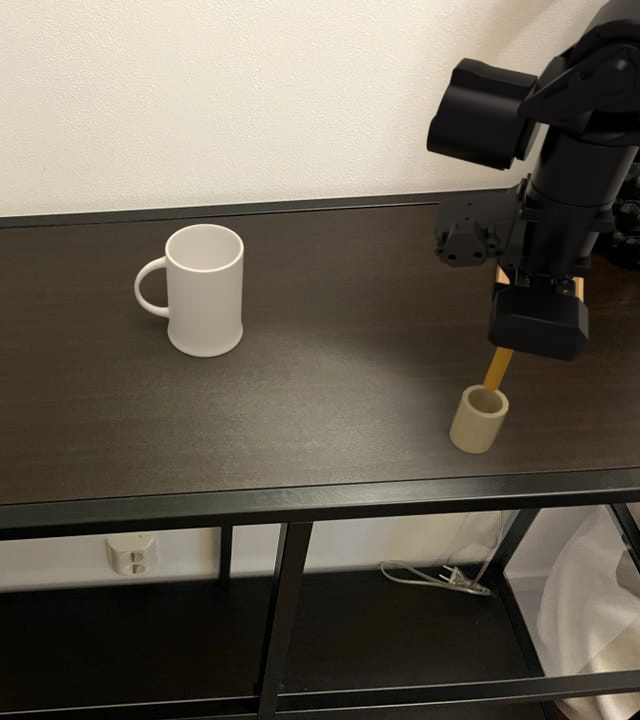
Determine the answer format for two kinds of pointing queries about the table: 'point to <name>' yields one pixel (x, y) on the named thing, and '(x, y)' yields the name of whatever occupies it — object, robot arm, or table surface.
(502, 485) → the table surface
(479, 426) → the pencil cup
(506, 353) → the pencil
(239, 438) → the table surface
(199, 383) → the table surface
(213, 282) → the mug
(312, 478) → the table surface
